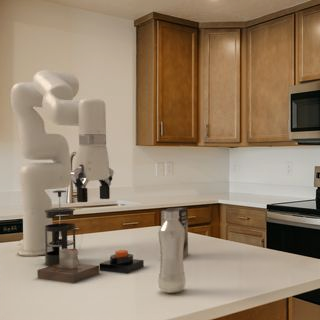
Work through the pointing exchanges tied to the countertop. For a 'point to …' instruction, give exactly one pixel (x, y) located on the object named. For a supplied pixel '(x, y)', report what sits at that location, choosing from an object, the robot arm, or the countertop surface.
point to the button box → (121, 264)
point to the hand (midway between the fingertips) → (93, 200)
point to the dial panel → (68, 273)
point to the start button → (121, 253)
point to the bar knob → (68, 258)
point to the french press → (56, 243)
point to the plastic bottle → (171, 253)
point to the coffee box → (184, 221)
